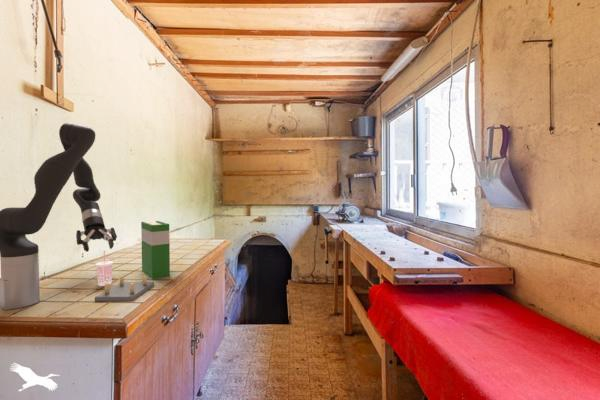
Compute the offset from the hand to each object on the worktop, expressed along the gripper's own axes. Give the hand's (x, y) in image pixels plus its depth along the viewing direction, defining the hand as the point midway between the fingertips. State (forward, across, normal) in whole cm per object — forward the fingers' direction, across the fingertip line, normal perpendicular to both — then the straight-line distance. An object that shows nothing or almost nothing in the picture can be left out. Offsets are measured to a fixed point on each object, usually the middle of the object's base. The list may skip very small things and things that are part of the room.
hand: (99, 249), depth 120 cm
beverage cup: (+15, 0, +5) cm, 16 cm away
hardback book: (+14, +20, +5) cm, 25 cm away
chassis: (+27, +3, -8) cm, 29 cm away
